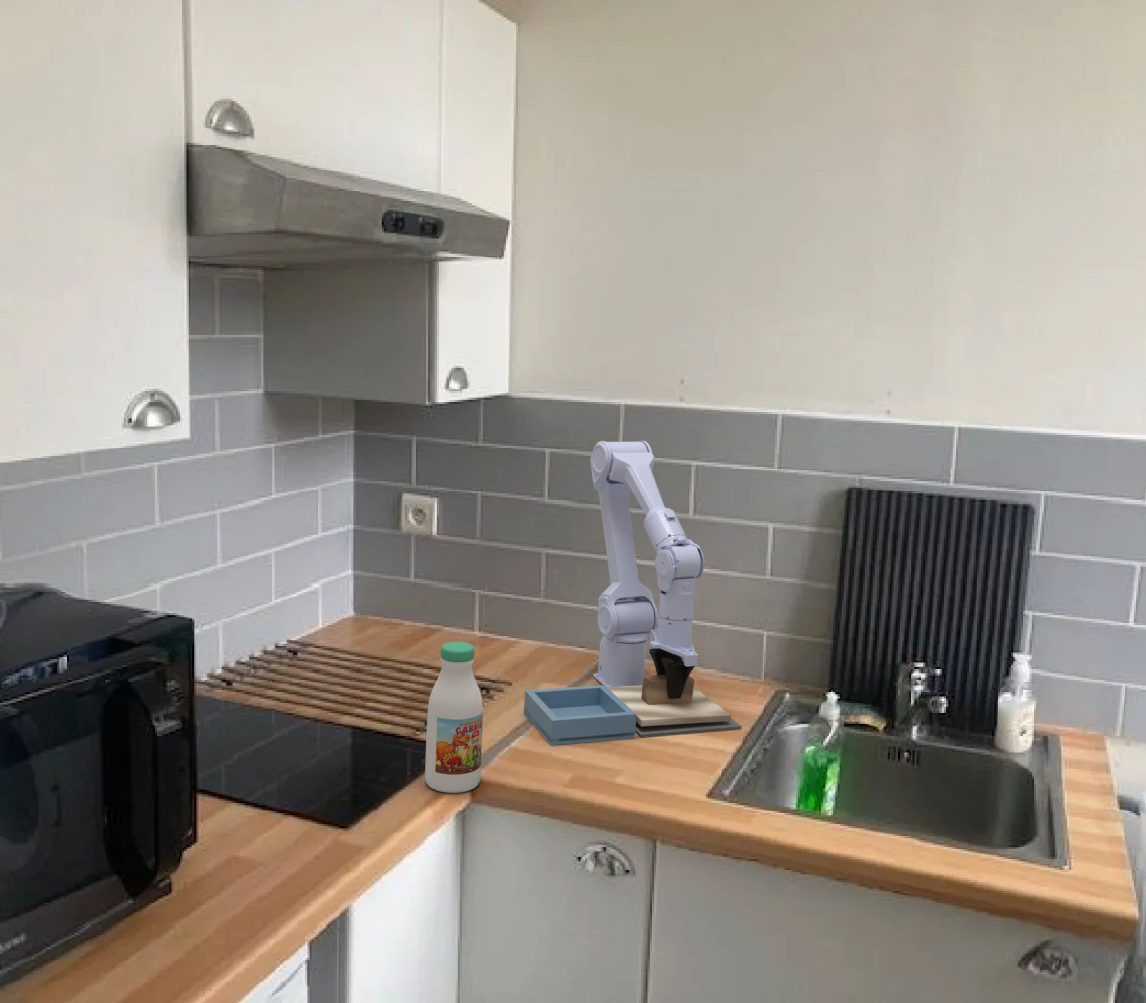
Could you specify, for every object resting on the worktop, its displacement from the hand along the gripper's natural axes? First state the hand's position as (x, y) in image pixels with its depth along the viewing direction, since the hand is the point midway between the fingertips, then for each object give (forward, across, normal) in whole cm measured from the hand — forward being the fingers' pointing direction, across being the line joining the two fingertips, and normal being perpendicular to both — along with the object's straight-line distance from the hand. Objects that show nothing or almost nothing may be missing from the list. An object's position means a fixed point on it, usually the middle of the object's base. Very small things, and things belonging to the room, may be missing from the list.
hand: (669, 694), depth 190 cm
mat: (+3, 0, 0) cm, 3 cm away
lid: (+2, 0, -1) cm, 2 cm away
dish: (+3, +2, -17) cm, 17 cm away
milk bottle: (+4, +19, -42) cm, 46 cm away
